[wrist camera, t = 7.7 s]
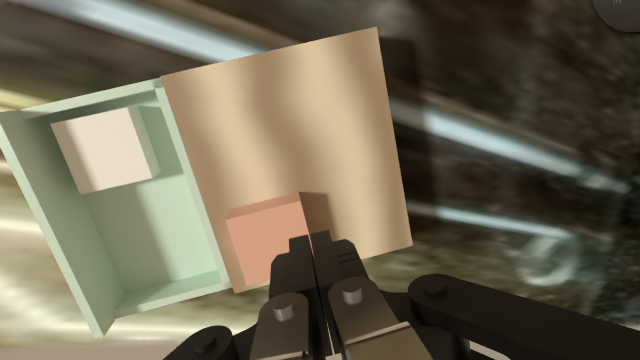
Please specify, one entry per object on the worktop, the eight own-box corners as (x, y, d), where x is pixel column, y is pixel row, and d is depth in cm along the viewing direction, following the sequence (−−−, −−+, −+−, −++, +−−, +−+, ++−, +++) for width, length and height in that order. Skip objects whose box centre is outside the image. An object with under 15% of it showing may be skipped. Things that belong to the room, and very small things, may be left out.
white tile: (50, 123, 23) (67, 120, 25) (80, 194, 25) (94, 186, 26) (127, 107, 24) (138, 105, 25) (152, 178, 25) (161, 171, 27)
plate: (361, 34, 27) (376, 26, 23) (395, 225, 31) (412, 245, 27) (177, 77, 26) (160, 76, 22) (239, 266, 30) (234, 293, 27)
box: (173, 78, 26) (150, 76, 21) (236, 267, 30) (229, 302, 26) (39, 109, 25) (-16, 115, 20) (124, 297, 30) (95, 338, 25)
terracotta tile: (298, 191, 25) (300, 200, 23) (314, 253, 26) (317, 266, 25) (228, 209, 25) (225, 220, 23) (248, 271, 26) (246, 285, 24)
